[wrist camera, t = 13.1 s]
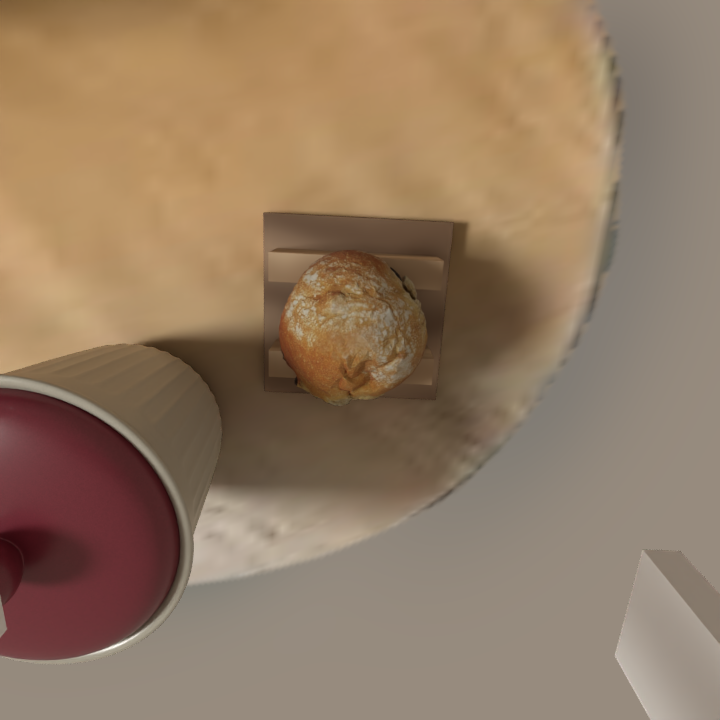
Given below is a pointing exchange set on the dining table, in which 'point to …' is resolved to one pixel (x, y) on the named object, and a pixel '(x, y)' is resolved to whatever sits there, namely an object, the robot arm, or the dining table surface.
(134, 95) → the dining table surface
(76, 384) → the canister
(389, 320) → the bread roll
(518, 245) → the dining table surface
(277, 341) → the display stand
